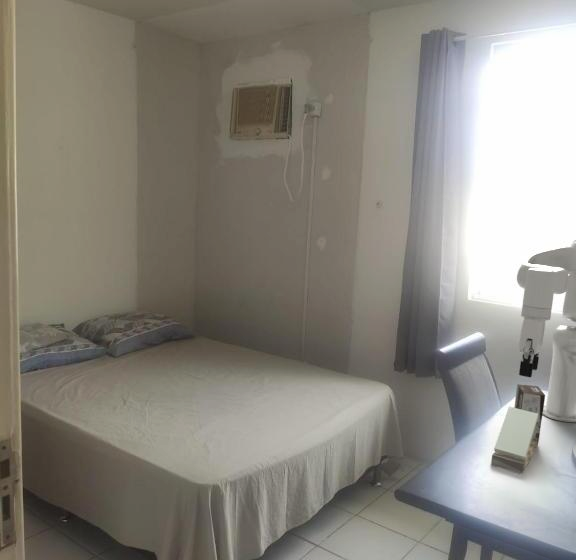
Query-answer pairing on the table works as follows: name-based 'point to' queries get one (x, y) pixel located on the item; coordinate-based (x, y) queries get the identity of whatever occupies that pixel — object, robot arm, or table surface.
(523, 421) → the pale green tile
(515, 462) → the grayish brown block
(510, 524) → the table surface
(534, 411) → the coffee box
